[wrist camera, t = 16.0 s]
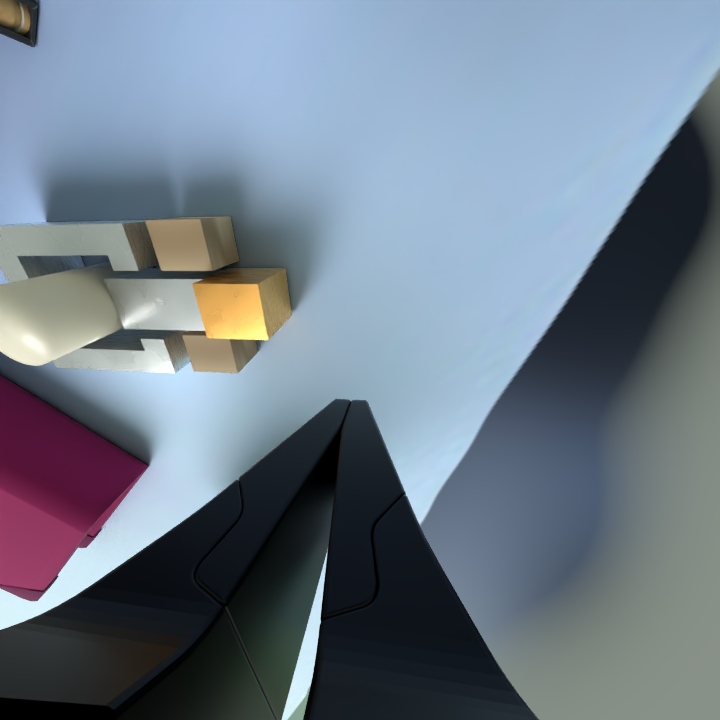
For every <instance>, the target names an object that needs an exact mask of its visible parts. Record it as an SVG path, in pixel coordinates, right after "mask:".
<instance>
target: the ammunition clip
mask: <svg viewBox="0 0 720 720" xmlns="http://www.w3.org/2000/svg"><path fill="white" fill-rule="evenodd" d="M37 10H38V5H37V2H36V1H35V0H0V34H3V35H5V36H7V37H10V38H12V39H15V40H17V41H19V42H22V43H24V44H26V45H29V46H31V47H34V46H35V34H36V22H37Z"/></svg>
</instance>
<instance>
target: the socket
mask: <svg viewBox="0 0 720 720" xmlns="http://www.w3.org/2000/svg"><path fill="white" fill-rule="evenodd" d="M81 255H108V258H109V260H110V263H111V266H112V268H113V271H140V270H144V269H147V268H151V267H155V266H158V265H159V262H158V259H157V256H156V253H155V250H154V247H153V243H152V240H151V237H150V234H149V231H148V228H147V225H146V222H145V220H122V221H78V222H41V223H26V224H10V225H0V268H1V270H2V272H3V273H4V275H5V277H6V279H7V281H8V282H9V283H11V282H16V281H20V280H25V279H30V278H35V277H39V276H44V275H49V274H53V273H58V272H63V271H68V270H72V269H77V268H82V267H85V265H84V262H83V260H82V258H81ZM187 332H188V331H186V330H148V329H124V328H122V329H120V330H118V331H116V332H114V333H111V334H109V335H107V336H105V337H103V338H101V339H98V340H96V341H94V342H92V343H90V344H87V345H85V346H83V347H81V348H79V349H77V350H74V351H72V352H70V353H68V354H66V355H63V356H61V357H59V358H57V359H55V360H53V363H54V364H55V366H56V368H72V369H94V370H116V371H138V372H160V373H176V372H177V371H179V370H180V369H181V368H183V367H184V366H185V365H187V364H188V363H189V362H191V361H190V358H189V355H188V352H187V349H186V346H185V343H184V340H183V336H182V335H183V334H185V333H187Z"/></svg>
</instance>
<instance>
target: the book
mask: <svg viewBox="0 0 720 720" xmlns="http://www.w3.org/2000/svg"><path fill="white" fill-rule="evenodd" d="M148 467H149V466H147V465H146V464H144V463H143V462H141V461H139V460H138V459H136V458H134V457H133V456H131V455H130V454H128V453H126V452H125V451H123V450H121V449H120V448H118V447H117V446H115V445H113V444H112V443H110V442H108V441H107V440H105V439H104V438H102V437H100V436H99V435H97V434H95V433H94V432H92V431H91V430H89V429H87V428H86V427H84V426H82V425H81V424H79V423H78V422H76V421H74V420H73V419H71V418H69V417H68V416H66V415H65V414H63V413H61V412H60V411H58V410H56V409H55V408H53V407H52V406H50V405H48V404H47V403H45V402H43V401H42V400H40V399H39V398H37V397H35V396H34V395H32V394H30V393H29V392H27V391H26V390H24V389H22V388H21V387H19V386H18V385H16V384H14V383H13V382H11V381H9V380H8V379H6V378H5V377H3V376H1V375H0V588H1V589H3V590H5V591H7V592H10V593H12V594H14V595H16V596H18V597H20V598H23V599H26V600H29V601H38V600H39V599H40V598H41V596H42V595H43V594H44V593H45V592H46V591H47V590H48V589H49V588H50V587H51V586H52V584H53V583H54V582H55V580H56V579H57V578H58V576H57V575H58V574H59V572H60V571H61V569H62V568H63V567H64V565H65V564H66V563H67V561H68V560H69V559H70V557H71V556H72V555H73V553H74V552H75V551H76V549H77V548H78V547H79V548H86V547H87V546H88V545H89V544H90V543H91V542H92V541H93V540H94V539H95V537H96V536H97V535H98V533H99V532H100V531H101V530H102V529H101V527H102V526H103V525H104V523H105V522H106V521H107V520H108V518H109V517H110V516H111V514H112V513H113V512H114V511H115V509H116V508H117V507H118V505H119V504H120V503H121V501H122V500H123V499H124V498H125V496H126V495H127V494H128V492H129V491H130V490H131V489H132V487H133V486H134V485H135V483H136V482H137V481H138V479H139V478H140V477H141V476H142V474H143V473H144V472H145V470H146V469H147V468H148Z"/></svg>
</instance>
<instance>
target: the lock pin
mask: <svg viewBox="0 0 720 720" xmlns="http://www.w3.org/2000/svg"><path fill="white" fill-rule="evenodd" d="M104 280H105V283H106V285H107V288H108V290H109V292H110V295H111V297H112V300H113V302H114V305H115V307H116V309H117V312H118V314H119V317H120V319H121V321H122V324H123V326H124V329H148V330H186V331H205V332H206V335H207V338H216V339H249V340H268V339H269V338H270V337H271V336H272V335H273V334H274V333H275V332H276V331H277V330H278V329H279V328H280V327H281V326H282V325H283V324H284V323H285V322H286V321H287V320H288V319H289V318H290V317H291V316H292V312H291V304H290V297H289V290H288V282H287V275H286V268H219V269H216V270H213V271H161V268H147V269H144V270H140V271H131V272H128V273H124V274H120V275H116V276H113V277H109V278H105V279H104Z"/></svg>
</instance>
